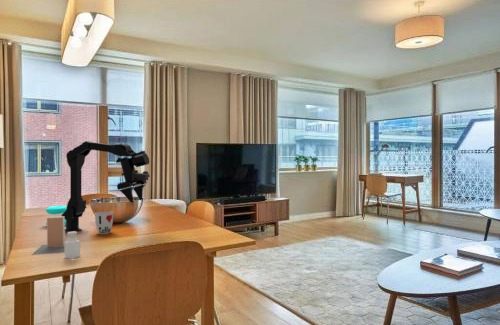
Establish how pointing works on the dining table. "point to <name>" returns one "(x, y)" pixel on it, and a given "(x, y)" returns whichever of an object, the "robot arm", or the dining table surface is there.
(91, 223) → the dining table surface
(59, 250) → the mat
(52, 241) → the block
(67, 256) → the pepper shaker
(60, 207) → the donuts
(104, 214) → the cup
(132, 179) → the robot arm
